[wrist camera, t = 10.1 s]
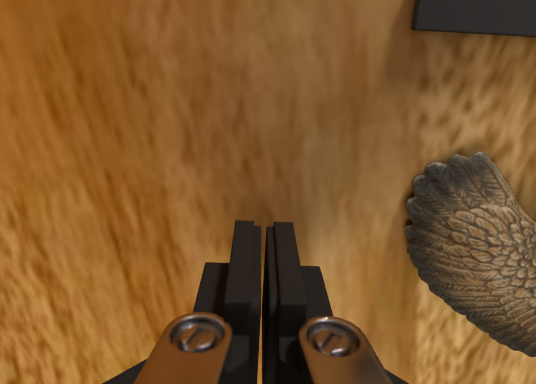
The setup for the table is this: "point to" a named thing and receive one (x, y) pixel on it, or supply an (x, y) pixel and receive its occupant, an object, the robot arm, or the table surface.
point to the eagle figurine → (476, 247)
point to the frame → (477, 16)
